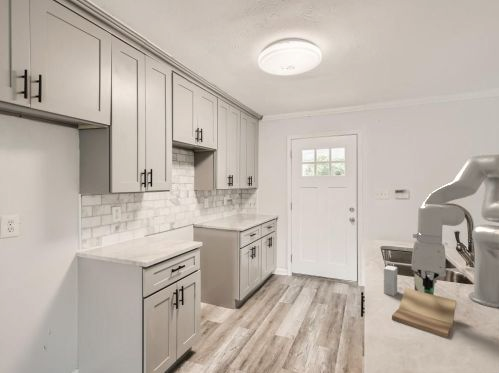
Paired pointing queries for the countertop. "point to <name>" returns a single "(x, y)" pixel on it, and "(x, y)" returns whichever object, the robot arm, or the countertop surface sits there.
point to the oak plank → (428, 305)
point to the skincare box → (390, 280)
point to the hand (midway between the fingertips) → (427, 289)
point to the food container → (419, 283)
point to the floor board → (422, 322)
